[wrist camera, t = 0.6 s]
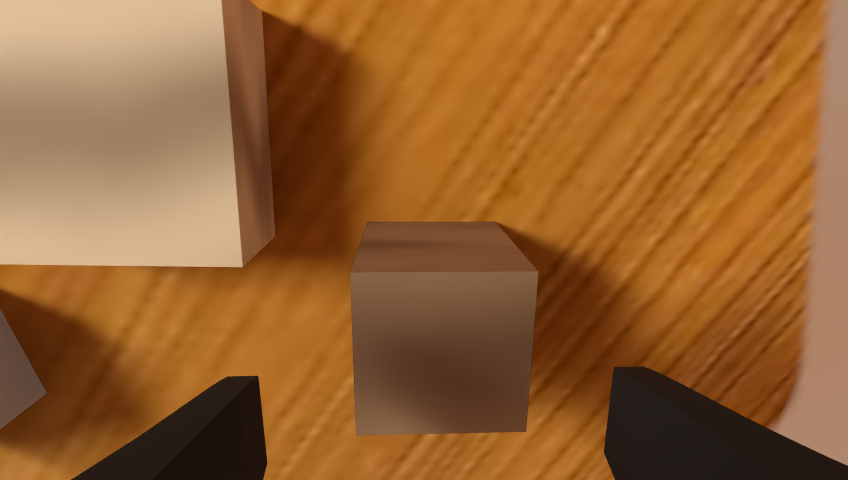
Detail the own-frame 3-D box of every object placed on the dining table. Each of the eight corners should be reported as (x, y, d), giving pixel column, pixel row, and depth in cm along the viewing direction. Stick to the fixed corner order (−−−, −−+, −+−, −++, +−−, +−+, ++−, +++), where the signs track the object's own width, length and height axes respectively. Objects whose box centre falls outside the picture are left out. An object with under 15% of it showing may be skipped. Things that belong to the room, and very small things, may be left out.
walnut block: (489, 337, 19) (526, 431, 14) (370, 338, 19) (355, 435, 13) (495, 221, 18) (538, 271, 12) (367, 221, 18) (350, 272, 12)
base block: (277, 234, 18) (242, 267, 14) (66, 231, 18) (-29, 263, 14) (264, 11, 16) (219, -21, 12) (24, 2, 16) (-101, -35, 12)
